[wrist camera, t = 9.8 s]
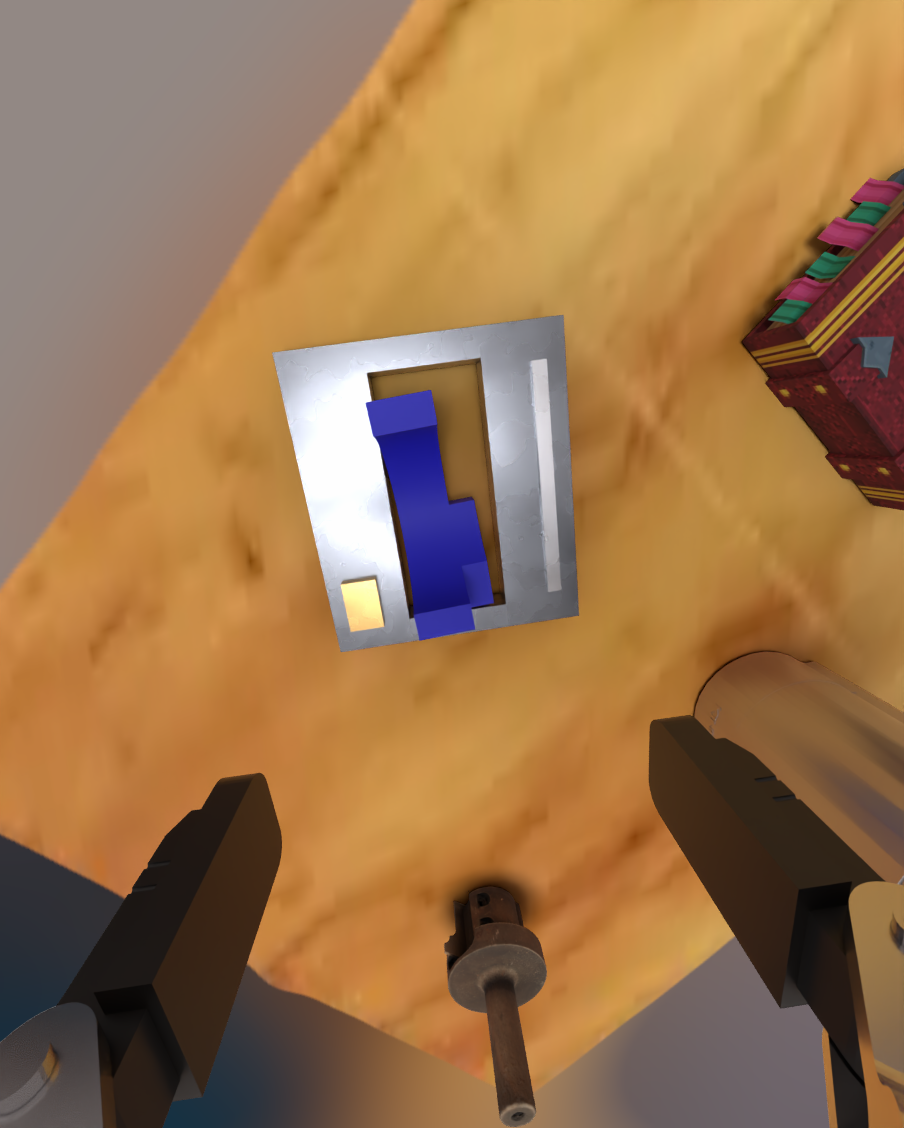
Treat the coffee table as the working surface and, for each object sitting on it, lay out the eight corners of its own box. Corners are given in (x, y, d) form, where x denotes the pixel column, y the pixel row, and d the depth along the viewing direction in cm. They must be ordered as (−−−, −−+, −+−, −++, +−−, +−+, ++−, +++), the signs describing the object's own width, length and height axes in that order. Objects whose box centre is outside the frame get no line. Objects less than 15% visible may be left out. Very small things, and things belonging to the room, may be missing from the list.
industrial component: (423, 914, 37) (426, 1132, 25) (476, 857, 36) (505, 1060, 24) (509, 955, 39) (548, 1173, 28) (563, 903, 38) (626, 1109, 26)
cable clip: (486, 586, 29) (503, 623, 23) (419, 599, 29) (419, 640, 23) (453, 394, 26) (463, 383, 20) (377, 409, 26) (365, 402, 20)
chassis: (551, 324, 25) (567, 311, 22) (568, 603, 30) (582, 619, 27) (283, 358, 24) (268, 350, 22) (345, 637, 29) (339, 656, 27)
